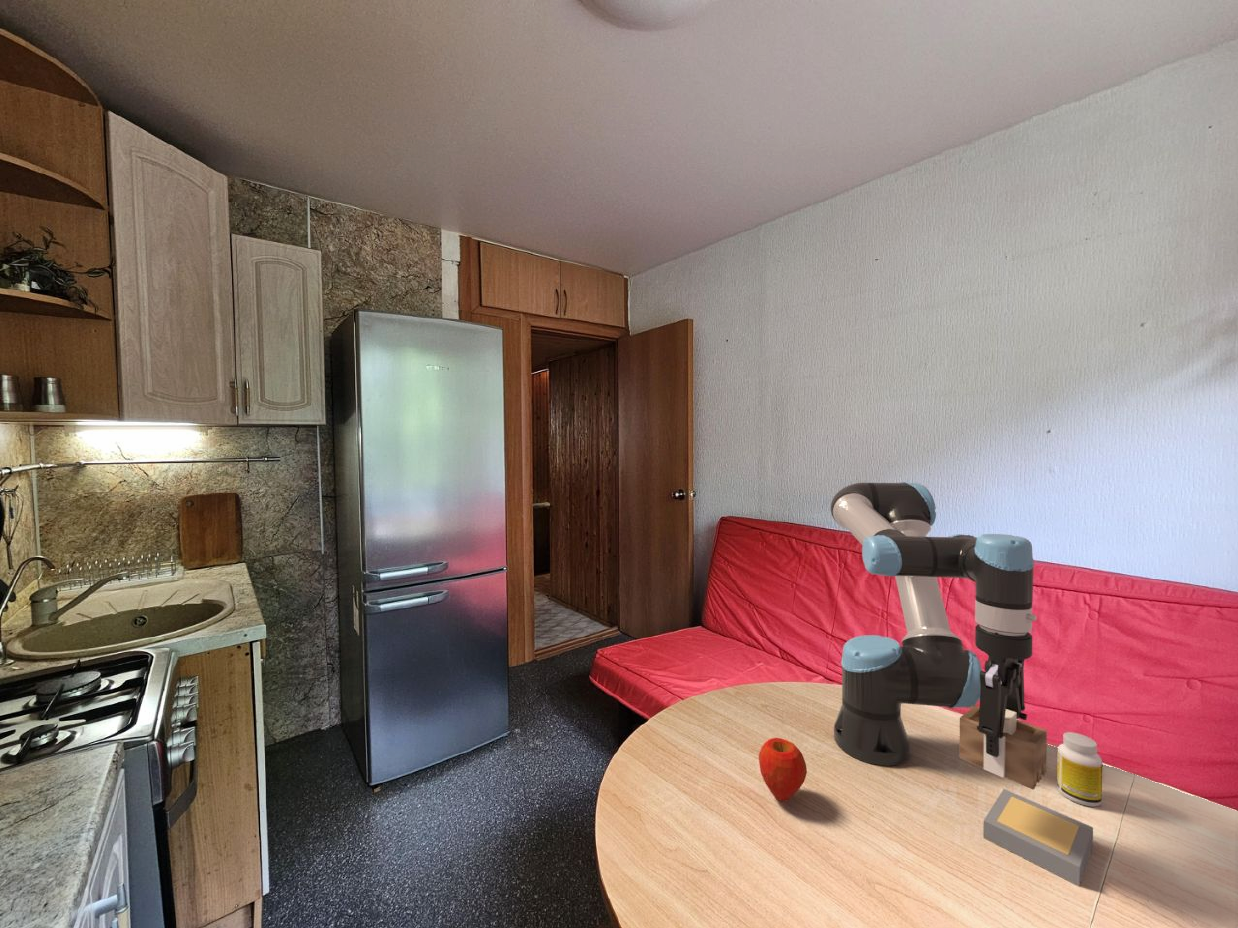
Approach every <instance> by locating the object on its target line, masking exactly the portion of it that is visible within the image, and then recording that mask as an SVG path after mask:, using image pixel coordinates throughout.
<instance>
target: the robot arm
mask: <svg viewBox="0 0 1238 928" xmlns="http://www.w3.org/2000/svg"><path fill="white" fill-rule="evenodd" d="M829 507H830V514H831V516H832V519H833V520H834V521H835V523H836V524H837V525H838V526H839V527H841V528H842V529H845V530H848V531H849V532H850V533H851V534H852V535H853V537H854V538H855V539H856V540H857V541H858V542H859V544H860V545H861V546H862V547H861V548H862V549H861V553H862V554H861V555H862V562H863V564H864V568H865V569H866V571H867V573H869V574H871V575H875V576H876V575H877V576H884V577H895V582H896V588H897V591H898V595H899V600H900V604H901V609H902V614H903V618H904V619H903V620H904V625H905V627H906V628H905V629H906V635H905V636H904V637H903V638H902V639H901V643H902V644H900V642H899V641H897V640H896V639H893V638H891V637H889V636H883V635H878V634H877V635H875V634H873V635H872V634H871V635H869V634H868V635H867V634H866V635H859V636H855V637H852V638H851V639H849V640H847V641H846V642H845V643H844V644H843V648H842V653H841V654H842V655H841V661H840V665H841V671H842V672H841V676H842V677H841V691H842V692H841V697H842V698H841V699H842V701H841V707H840V708H839V711H838V714H837V717H836V720H835V722H834V724H833V739H834V741H835V743H836V745H837V747H838V748H840V749H841V750H842V751H843V752H845V753H846V754H847V755H849V756H851V757H852V758H856V759H857V760H860V761H862V762H865V763H867V764H868V763H869V764H873V765H878V766H897V765H901V764H904V763H905V762H907V761H908V760H909V759H910V756H911V744H910V740H909V737H908V734H907V731H906V728H905V725H904V722H903V719H902V715H901V713H902V712H901V709H902V704H907V705H915V706H916V705H920V706H931V707H943V708H949V709H954V708H957V709H959V708H960V709H961V708H962V709H964V708H965V709H968V708H969V709H971V708H972V707H973V706H974V705H977V704H978V702H979V707H980V708H979V726H977V730H979V732H981V733H984V768H983V770H985V771H987V772H989V773H992V774H993V775H996V776H998V777H1001V778H1005V736H1003V729H1004V720H1005V712H1006V709H1008V710H1011V711H1014V712H1017V716H1016V720H1019V721H1021V720H1022V721H1027V718H1028V714H1026V713H1023V712H1024V711H1025V709H1026V705H1025V680H1024V679H1025V677H1024V676H1025V675H1024V673H1025V670H1024V669H1025V667H1024V665H1025V660H1027V659H1030V658H1031V657H1032V656H1033V635H1032V634H1031V633H1030V632H1032V630H1033V621H1037V619H1038V617H1037V615H1036V614H1033V613H1032V612H1033V600H1034V597H1033V594H1034V566H1035V560H1034V557H1033V556H1034V555H1033V554H1034V553H1033V545H1032V543H1031V542H1032V541H1030V540H1029V539H1027V538H1025V537H1022V536H1018V535H1016V536H1015V535H1011V534H1003V533H1002V534H1001V533H984V534H980V535H978V536H977V537H975V536H974V535H971V534H963V533H962V534H961V533H959V534H958V533H957V534H956V533H955V534H951V535H949V536H946V537H945V536H927V535H928V534H929V532H930V531H931V529H932V526H933V525H934V524H935V522H936V519H937V518H936V517H937V512H936V508H937V507H936V503H935V499H934V497H933V495H932V493H931V491H930V490H929V489H928V488H927V487H926V486H924V485H923V484H921V483H917V482H907V481H901V482H856V483H853V484H848V485H847V486H844V487H843V488H841V489H840V490H838V492H836V494H835V495H834V496H833V497H832V499H831V501H830V506H829ZM938 578H951V579H952V578H954V579H968V580H971V581H973V582H974V583H975V601H974V602H975V603H974V622H975V623H976V624H977V625H975V628H974V629H975V634H974V637H975V638H974V639H975V641H974V642H975V643H974V644H975V646H976V648H977V649H978V650H979V651H981V652H983V653H985V654H986V655H988V659H987V660H986V661H985V662H984V670H983V669H982V664H981V662H980V659H979V658H978V657H977V655H976V653H975V652H974V651H972V650H969V649H965V648H964V646H963V641H962V638H960V637H959V636H957V635H956V634H954V633H953V632H952V630H951V627H950V623H949V619H948V615H947V613H946V608H945V604H944V601H943V600H944V599H943V596H942V592H941V589H940V585H939V582H938V581H939V580H938ZM901 645H902V646H901Z"/></svg>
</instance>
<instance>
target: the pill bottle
mask: <svg viewBox="0 0 1238 928" xmlns="http://www.w3.org/2000/svg"><path fill="white" fill-rule="evenodd" d="M1062 735H1063V737H1062V740H1063V741H1062V742H1063V743H1060V744H1059V745H1058V747H1057V760H1056V762H1057V764H1056V765H1057V770H1056V772H1057V773H1056V774H1057V775H1056V776H1057V777H1056V779H1057V780H1056V784H1057V785H1056V787H1057V790H1058V792H1059V793H1060V794H1061V795H1062V796H1064V797H1065V798H1066V799H1068V800H1070V801H1071V802H1073V803H1076V804H1079V805H1081V806H1082V805H1083V806H1086V807H1100V806H1101V804H1102V801H1103V760H1102V758H1101V756H1100V755H1099V754H1098V753H1097V752H1098V744H1097V742H1096V741H1095V740H1094V739H1093V738H1090V737H1089V736H1087V735H1083V734H1082V733H1081V734H1080V733H1077V732H1073V731H1067V732H1064V733H1063V734H1062Z"/></svg>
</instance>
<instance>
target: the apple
mask: <svg viewBox="0 0 1238 928" xmlns="http://www.w3.org/2000/svg"><path fill="white" fill-rule="evenodd" d="M758 764H759V769H760V773H761V774H760V775H761V776H762V779H763V781H764V783H765V785H766V786H767V788H768V790H769V791H770V793H771V794H772V796H773V798H775V799H777V800H778V801H779V802H787V801H789V800H791V799H792V798H793V796H794V795H796V793H797V792H798V791H799V790H800V789H801V787H802V785H804V783H805V780H806V777H807V773H808V771H807V769H808V768H807V764H806V760H805V757H804V755H803V753H802V752H801V750H800V748H798V747H797V746H796V745H795V743H793V742H792V741H789V740H787V739H784V738H781V737H774V738H773V737H772V738H770V739H768V740H767V741H766V742H764V743H763V745H762V746H761V749H760V751H759V753H758Z"/></svg>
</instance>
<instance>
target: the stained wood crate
mask: <svg viewBox="0 0 1238 928" xmlns="http://www.w3.org/2000/svg"><path fill="white" fill-rule="evenodd" d="M979 708H980V705H977V704H976V705H974V706H973V707H970V708H969V709H968V710H967V711H966V712H965V713H964V714H962V715H961V716H960V717H959V753H958V755H959V757H958V758H959V759H962V760H964V761H966V762H968V763H971V764H973V765H976V766H978V767H979V768H980V767H981V768H982V769H984V733H981V732H979V730H977V726H979ZM1019 720H1020V719H1018V720H1016V731H1015V732H1014V733H1013V735H1010V734H1008V733H1005V732H1003V736H1005V777H1004V778H1006V779H1007V780H1010V781H1012V782H1014V783H1016V784H1019V785H1021V786H1024V787H1026V788H1028V789H1031V790H1032V791H1033V790H1035V788H1036V787H1037V783H1040V781H1042V776H1043V777H1044V776H1045V774H1046V773H1047V760H1048V759H1047V756H1048V755H1047V752H1048V751H1047V748H1048V747H1047V744H1048V738H1047V737H1048V730H1047V729H1044V728H1042V727H1039V726H1037V725H1034V724H1030V723H1028V722H1025V721H1023V720H1022V721H1019Z"/></svg>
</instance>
